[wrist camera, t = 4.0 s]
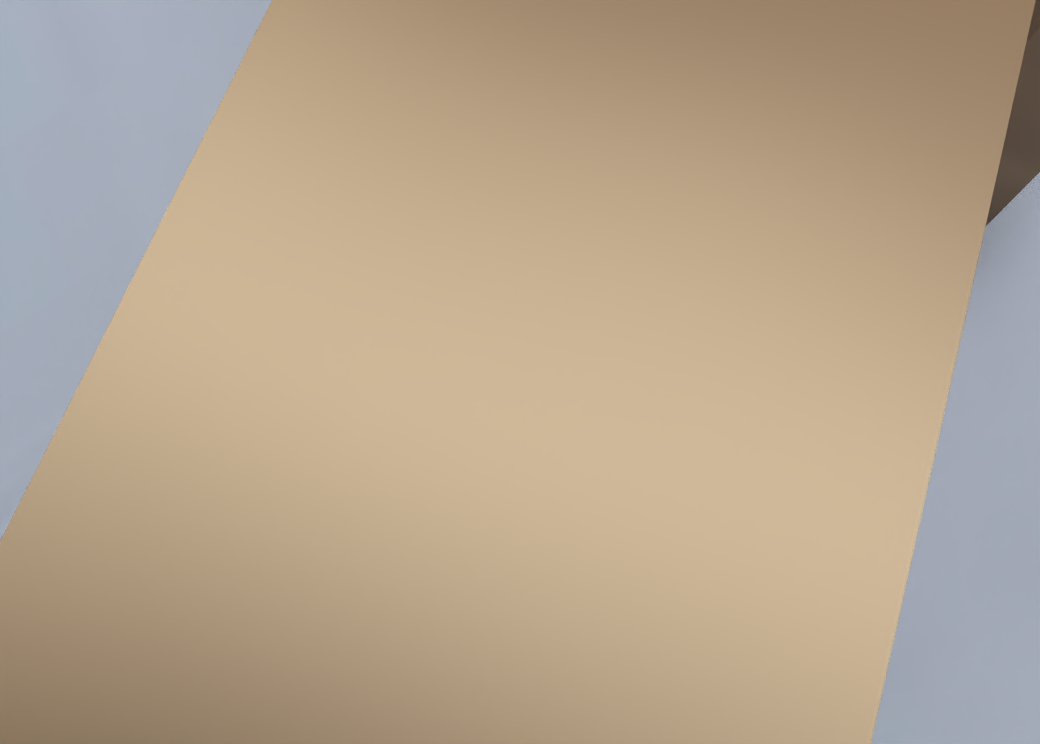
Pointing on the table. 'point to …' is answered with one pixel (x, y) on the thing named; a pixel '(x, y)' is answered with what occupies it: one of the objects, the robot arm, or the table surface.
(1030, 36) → the end cap
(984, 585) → the table surface
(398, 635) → the tan wooden block
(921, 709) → the table surface
